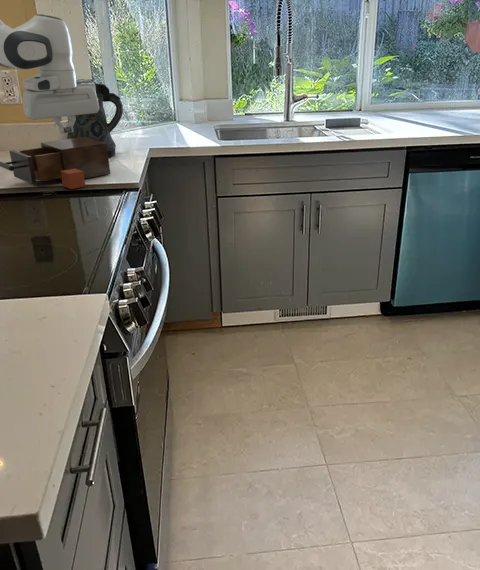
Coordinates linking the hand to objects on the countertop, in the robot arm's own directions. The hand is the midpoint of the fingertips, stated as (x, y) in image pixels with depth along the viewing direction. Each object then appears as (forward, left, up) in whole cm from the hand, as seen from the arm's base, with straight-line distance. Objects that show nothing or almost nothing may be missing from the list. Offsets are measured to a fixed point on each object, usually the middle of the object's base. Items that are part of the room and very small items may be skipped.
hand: (66, 132), depth 165 cm
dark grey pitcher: (+25, +31, -15) cm, 43 cm away
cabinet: (+8, +12, -15) cm, 21 cm away
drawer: (-5, +12, -15) cm, 19 cm away
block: (0, 0, -15) cm, 15 cm away
